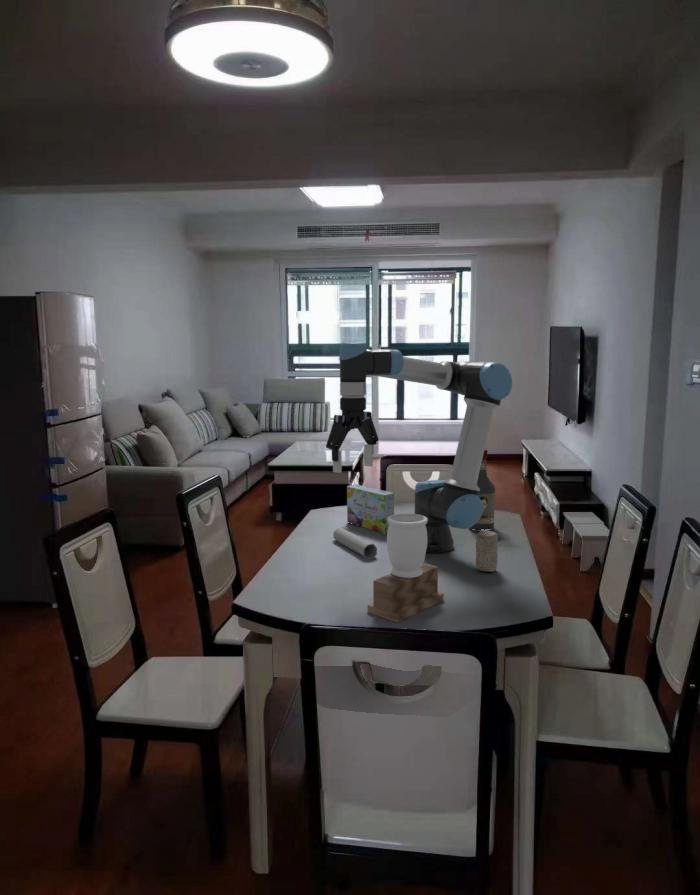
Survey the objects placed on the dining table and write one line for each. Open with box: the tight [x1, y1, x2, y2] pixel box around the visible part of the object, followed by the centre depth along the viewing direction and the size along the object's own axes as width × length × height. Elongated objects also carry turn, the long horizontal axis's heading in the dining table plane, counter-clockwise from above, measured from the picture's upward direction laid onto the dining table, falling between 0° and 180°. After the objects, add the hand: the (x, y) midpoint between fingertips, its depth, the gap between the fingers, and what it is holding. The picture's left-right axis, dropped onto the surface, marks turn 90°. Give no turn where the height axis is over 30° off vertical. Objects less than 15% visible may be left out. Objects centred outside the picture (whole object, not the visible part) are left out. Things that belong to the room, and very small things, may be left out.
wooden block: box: [367, 562, 445, 623], centre depth 176 cm, size 20×10×9 cm, turn 138°
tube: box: [332, 527, 378, 560], centre depth 228 cm, size 5×5×25 cm
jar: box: [386, 513, 428, 578], centre depth 175 cm, size 11×10×15 cm
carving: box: [475, 530, 499, 573], centre depth 204 cm, size 6×8×12 cm
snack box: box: [346, 483, 395, 535], centre depth 253 cm, size 21×6×15 cm, turn 42°
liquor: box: [469, 448, 496, 530], centre depth 251 cm, size 9×9×30 cm
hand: (353, 469), depth 195 cm, fingers open, 13 cm apart
